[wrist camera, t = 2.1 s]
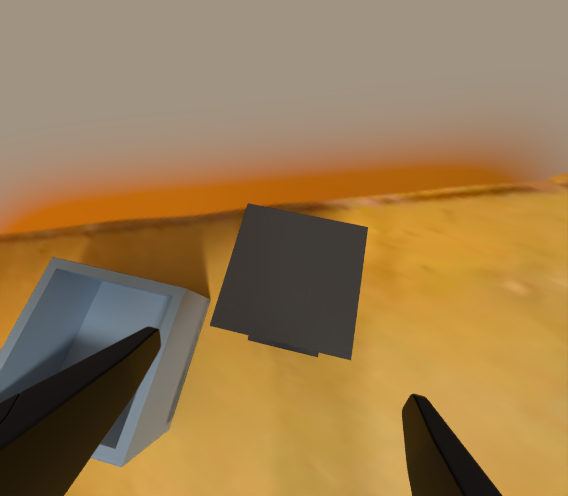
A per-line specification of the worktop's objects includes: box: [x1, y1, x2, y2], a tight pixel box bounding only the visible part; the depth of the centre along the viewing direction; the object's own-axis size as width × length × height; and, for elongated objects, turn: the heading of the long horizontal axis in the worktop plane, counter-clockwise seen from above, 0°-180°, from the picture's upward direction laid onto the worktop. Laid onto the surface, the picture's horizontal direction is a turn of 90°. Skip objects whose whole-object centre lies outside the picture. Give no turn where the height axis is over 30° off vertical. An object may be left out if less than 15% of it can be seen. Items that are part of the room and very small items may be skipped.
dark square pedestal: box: [210, 204, 368, 360], centre depth 13 cm, size 5×5×13 cm
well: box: [0, 257, 210, 467], centre depth 16 cm, size 9×9×5 cm
